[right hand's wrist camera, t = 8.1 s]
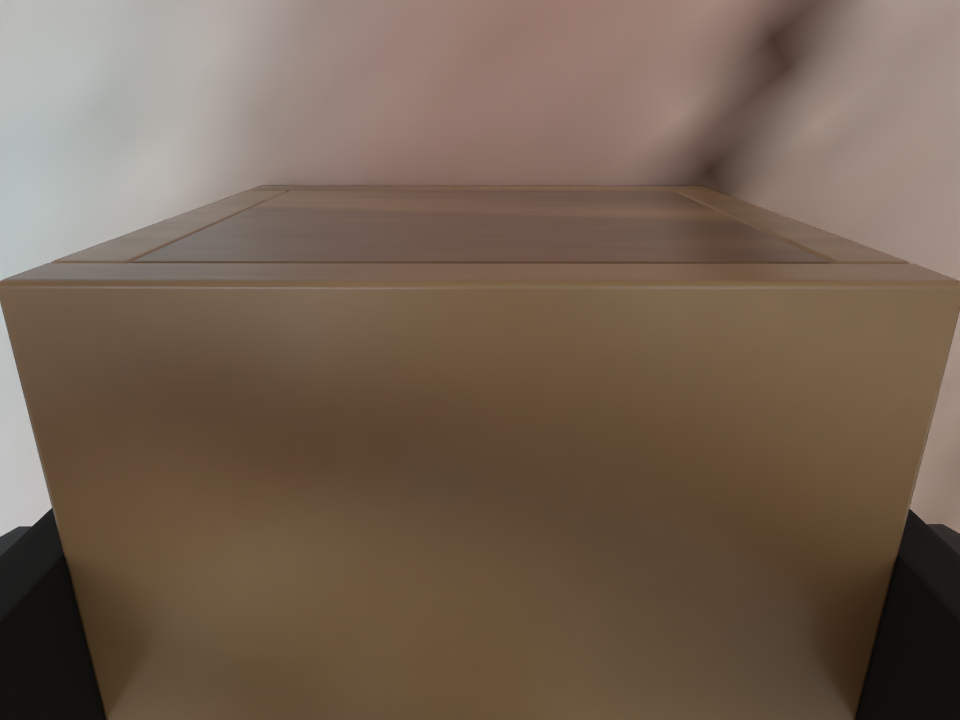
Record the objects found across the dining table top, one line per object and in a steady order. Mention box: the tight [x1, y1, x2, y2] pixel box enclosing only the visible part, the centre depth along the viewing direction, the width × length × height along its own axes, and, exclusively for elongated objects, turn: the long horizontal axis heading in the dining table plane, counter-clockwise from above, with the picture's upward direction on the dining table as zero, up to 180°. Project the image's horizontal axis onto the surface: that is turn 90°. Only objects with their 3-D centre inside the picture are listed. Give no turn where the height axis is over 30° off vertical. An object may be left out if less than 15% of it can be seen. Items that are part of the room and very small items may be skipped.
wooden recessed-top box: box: [0, 186, 960, 720], centre depth 15 cm, size 20×10×9 cm, turn 0°
